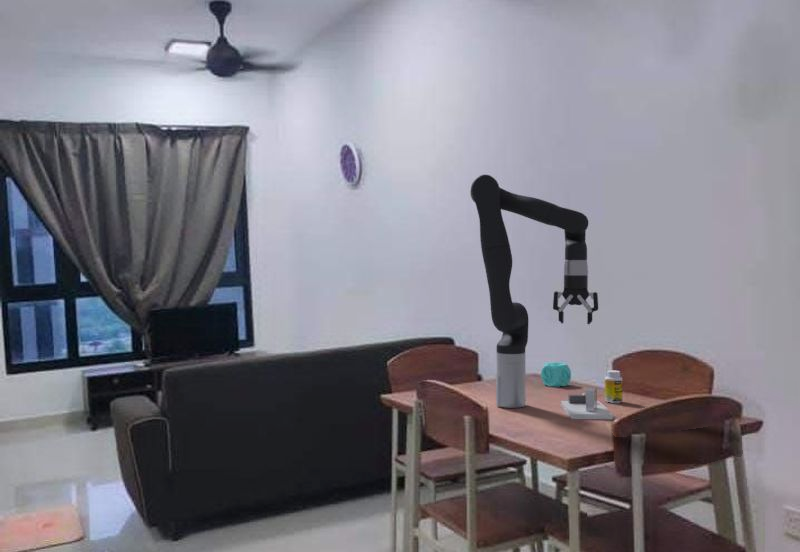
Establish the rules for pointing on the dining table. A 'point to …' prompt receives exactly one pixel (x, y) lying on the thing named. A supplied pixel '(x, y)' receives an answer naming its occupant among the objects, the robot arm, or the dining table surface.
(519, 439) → the dining table surface
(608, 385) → the supplement bottle
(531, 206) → the robot arm
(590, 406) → the white orange box
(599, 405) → the base
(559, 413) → the dining table surface
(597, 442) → the dining table surface
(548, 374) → the decorative dice
